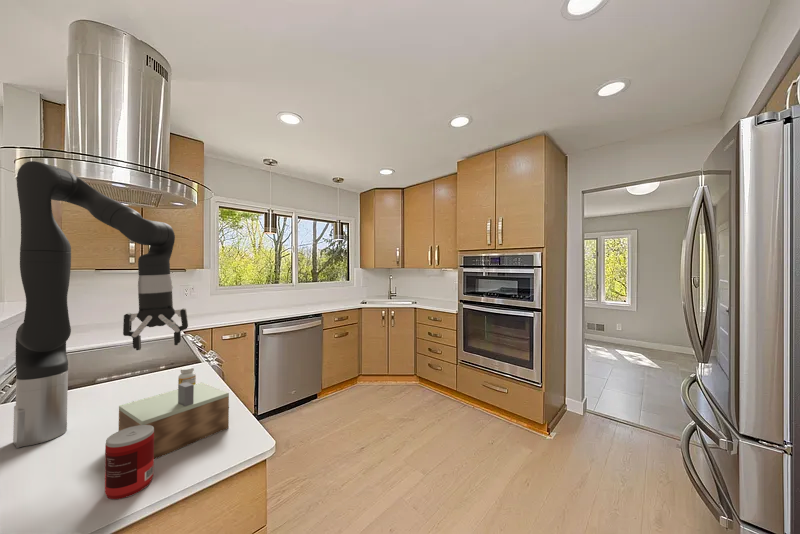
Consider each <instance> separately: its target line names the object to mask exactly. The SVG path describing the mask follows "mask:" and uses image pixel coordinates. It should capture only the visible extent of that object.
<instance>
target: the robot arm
mask: <svg viewBox="0 0 800 534" xmlns="http://www.w3.org/2000/svg"><path fill="white" fill-rule="evenodd" d="M16 175H17V176H16V190H17V197H18V205H19V214H20V247H19V270H20V271H19V272H20V277H21V283H22V287H23V290H24V294H25V295H24V296H25V311H24V319H23V322H22V323H21V324H20V326H18V328H17V329H16V334H15V372H16V375H15V376H16V377H15V378H16V379H15V381H16V383H15V405H14V406H13V429H12V430H13V434H12V436H13V439H12V442H13V444H14V446H15V447H16V449H19V448H21V447H27V446H28V447H29V446H32V445H37V444H41V443H45V442H48V441H51V440H54V439H55V438H58V437H60V436H62V435H64V434H65V433H66V432H67V431H68V429H67V428H68V395H69V394H68V390H69V389H68V386H69V385H68V384H69V383H68V382H69V361H68V353H67V341H68V340H69V339H70V336H71V332H72V328H71V323H70V316H69V308H68V307H69V306H68V293H69V286H70V279H71V278H70V277H71V267H72V246H71V243H70V242H69V239H68V238H67V236H66V234H65V233H64V231H63V230H62V228H61V227H60V225H58V222H57V220H56V219H55V217H54V214H53V206H52V200H53V201H58V202H65V203H69V204H72V205H75V206H78V207H80V208H83V209H85V210H87V211H88V212H89V213H90V214H91V216H92V217H94V219H96V220H98V221H100V222H101V223H103V224H104V225H107V226H109V227H111V228H113V229H115V230H117V231H119V232H120V233H121V234H122V235H123V236H125V237H126V238H127V239H128V240H129V241H132V242H133V243H135V244H139V245H142V246H149V249H148V252H147V253H145V254H142V255H140V256H139V257H138V260H137V269H138V270H137V271H138V272H137V273H138V279H137V292H138V293H137V295H138V298H137V299H138V312H136V313H131V312H127V313H125V314H124V315H123V323H122V324H123V325H122V326H123V328H122V329H123V331H122V335H123V336H124V337H131V338H132V348H133V349H134V350H135V351H141V349H142V339H141V338H142V336H141V335H140V334H141V333H142V332H143V331H144V330H145V328H147V327H149V328H153V327H164V326H165V325H166V326H168V327H169V328H170V329H171V330H173V331H174V332H173V343H174V346H178V345H179V344H180V343H181V341H182V336H181V333H182V332H183V330H187V329H188V327H189V321H188V314H187V309H186V308H182V309H176V310H175V309H174V303H173V300H174V299H173V284H172V283H173V282H172V281H173V280H172V277H171V266H170V265H171V264H170V260H171V258H172V257H171V256H172V254H173V250H174V245H175V240H176V235H175V231H174V229H173V227H172V226H171V225H170V224H168V223H167V222H164V221H163V222H162V221H159V220H158V221H156V220H151V219H146V218H144V217H143V216H142V215H141V213H140V212H138V211H137V210H135V209H134V208H132V207H129V206H128V205H126V204H123V203H122V202H119V201H118V200H115V199H114V198H111V197H109V196H107V195H105V194H104V193H102V192H100V191H98V190H97V189H95V188H94V187H92V186H91V185H89V183H87V182H85V181H84V179H83V180H82V178H80V177H78V176H77V175H76V174H74V173H72V172H70V171H69V170H66V169H63V168H59V167H57V166H53V165H50V164H46V163H44V162H40V161H35V160H34V161H33V160H31V161H27V162H24V163H23V164H21V166H20V167H19V169H18V171H17V174H16ZM175 315H177V316H178V317H179V318H180V319H181V320H180V321H181V325H178V323H176V321H175V320H173V317H174V316H175ZM136 318H137V319H138V320H139V321H140V325H138V326H137V328H136V330H132V328H133V327H132V322H133V321H135V320H136Z"/></svg>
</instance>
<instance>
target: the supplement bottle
mask: <svg viewBox="0 0 800 534" xmlns="http://www.w3.org/2000/svg"><path fill="white" fill-rule="evenodd" d="M194 369H195V367H194V366H185V367H182V368H180V373H181V374H179V375H178V382H177V383H178V384H181V383H185V382H188V383H190V384H193V385H195V384H197V381H196V380H197V374H196V373H195V372H194V371H195V370H194ZM178 384H177V385H178Z"/></svg>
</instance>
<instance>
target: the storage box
mask: <svg viewBox="0 0 800 534" xmlns="http://www.w3.org/2000/svg"><path fill="white" fill-rule="evenodd" d="M229 407H230V395H229V396H228V397H225V398H222V399H219V400H216V401H213V402H210V403H207V404H204V405H201V406H199V407H196V408H193V409H190V410H187V411H184V412H181V413H178V414H175V415H172V416H169V417H166V418H163V419H160V420H157V421H154V422H151V423H148V424H146V425H151V426H153V427H154V461H155V460H157V459H159V458H161V457H164V456H166V455H168V454H171V453H173V452H176V451H178V450H181V449H182V448H185V447H187V446H189V445H193V444H194V443H196V442H199V441H202V440H204V439H206V438H208V437H211V436H213V435H215V434H218V433H220V432H222V431H224V430H227V429H229V427H230V426H229V425H230V424H229V422H230V421H229V418H230V417H229V416H230V415H229V413H230V411H229V410H230V409H229ZM138 425H140V424H139V423H137V422H136V421H135V420H133V419H132V418H130V417H129V416H127V415H126V414H124V413H123V412H122V411H120V410H119V409H118V431H120V430H123V429H126V428H129V427H133V426H138Z"/></svg>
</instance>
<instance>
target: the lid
mask: <svg viewBox="0 0 800 534" xmlns="http://www.w3.org/2000/svg"><path fill="white" fill-rule="evenodd" d="M177 386H178V387H177V388H176V389H173V390H171V391H167V392H163V393H160V394H156V395H153V396H149V397H145V398H143V399H138V400H135V401H131V402H128V403H125V404H124V403H123V404H121V405H118V411H119V410H120V411H122V412H123V413H124V414H126V415H127V416H129V417H130V418H132V419H133V420H135V421H136V422H137V423H139V424H140V425H146V424H148V423H151V422H154V421H157V420H160V419H163V418H166V417H169V416H172V415H175V414H178V413H181V412H184V411H187V410H190V409H193V408H196V407H199V406H201V405H204V404H207V403H210V402H213V401H216V400H219V399H222V398H225V397H228V396H229V397H230V395H229V394H230V393H229V392H228V391H225V390H223V389H220V388H217V387H215V386H213V385H210V384H207V383H204V382H199V383H196V384H195V385H193V384H190V383H188V382H185V383H181V384H177Z"/></svg>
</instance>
